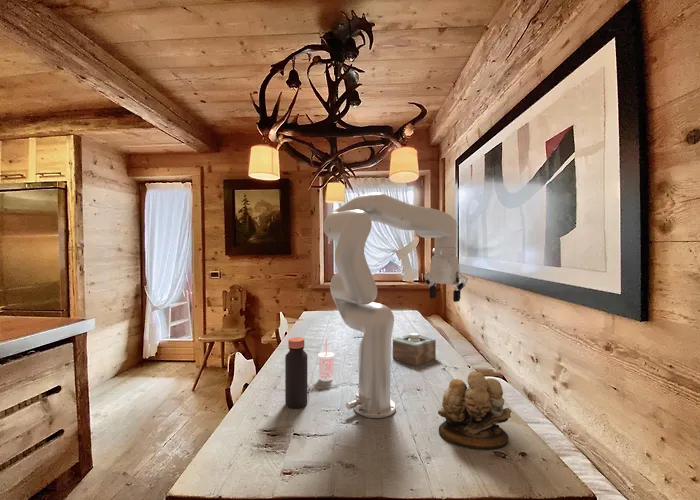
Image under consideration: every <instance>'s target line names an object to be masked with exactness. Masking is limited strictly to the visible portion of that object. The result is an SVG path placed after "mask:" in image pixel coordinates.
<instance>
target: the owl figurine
mask: <svg viewBox="0 0 700 500" xmlns="http://www.w3.org/2000/svg"><path fill="white" fill-rule="evenodd" d="M466 381H467V384H466V383H465V382H464V381H463V380H462V379H459V378H454V379H451V380H450V381H449V384H448V388H447V389H445V390H444V393H443V395H442V397H443V398H442V403H441V406H442V407H441V408H440V409H438V410H437V413H438V415H439V416H440V417H442V418H445V421H443V422H442V423H440V425H439V426H438V434H439V436H440V437H441V438H442V439H443V440H444V441H446V443H449V444H452V445H454V446H457V447H461V448H466V449H469V450H470V449H471V450H479V451H480V450H483V451H493V450H494V451H495V450H499V449H501V448H502V449H503V448H505V447H506V446H507V445H508V443H509V435H508V433H507V432H506V431H505V430H504V429H503V428H501V426H500V425H499V424H503V423H506V422H508V420H509V419H510V418H511V417H512V415H511V414H512V413H513V411H512V410H511V408H509V407H505V408H504V404H505V399H504V397H503V395H504V390H503V387H502V384H501V382H500V381H499V380H497V379H495V378H491V377H490V378H489V377H488V378H486V377H485V376H484V375H483V374H482V373H481V372H478V370H477V371H476V370H474V371H471V372H469V373H468V375H467V380H466ZM467 385H468V386H467Z"/></svg>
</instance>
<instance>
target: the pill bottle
mask: <svg viewBox="0 0 700 500" xmlns="http://www.w3.org/2000/svg"><path fill="white" fill-rule="evenodd" d="M408 335H409V337H410V338H409V339H408V341H411V342H414V343H416V342H420V339H418V338H419V335H420V334H419V333H416V332H411V333H409V334H408Z"/></svg>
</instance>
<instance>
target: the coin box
mask: <svg viewBox="0 0 700 500" xmlns="http://www.w3.org/2000/svg"><path fill="white" fill-rule="evenodd" d="M409 338H410V337H409V334H408V335H404V336H398V337H396V338H392V359H394V360H396V361H400V362H402V363H404V364H407V365H409V366H413V367H415V366H419V365H421V364H426V363H428V362H429V361H432V360H436V356H437V355H436V353H437V352H436V348H437V347H436V346H437V343H436V341H437V340H436V338H432V337H429V336H424V335H421V334H419V338H418V339H420V342H416V343H414V342H411V341H408V339H409Z"/></svg>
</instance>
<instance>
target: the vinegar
mask: <svg viewBox="0 0 700 500" xmlns="http://www.w3.org/2000/svg"><path fill="white" fill-rule="evenodd" d="M287 344H288V346H287V347H288V350H289V351H288V352H287V353H286V354H285V358H284V361H285V363H284V364H285V369H284V371H285V372H284V374H285V375H284V377H285V378H284V379H285V380H284V381H285V382H284V383H285V385H284V386H285V390H284V391H285V392H284V393H285V394H284V396H285V397H284V399H285V403H284V404H285V406H286V407H287V408H288V409H295V410H296V409H302V408H304V407H306V406H307V404H308V353H307V352H305V350H304V348H305V338H304V337H299V336H295V337H291V338H288V343H287Z"/></svg>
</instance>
